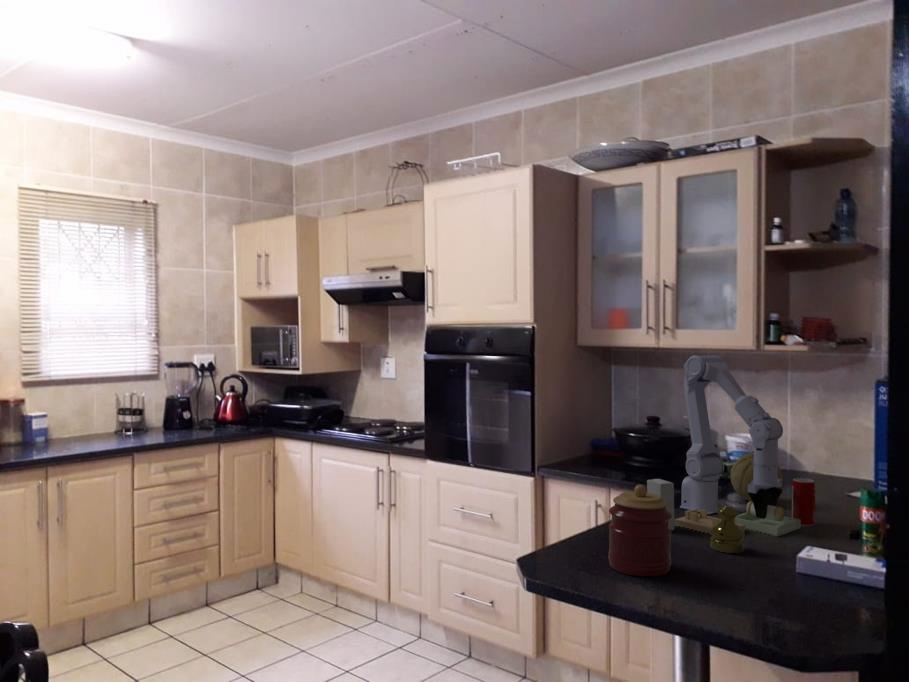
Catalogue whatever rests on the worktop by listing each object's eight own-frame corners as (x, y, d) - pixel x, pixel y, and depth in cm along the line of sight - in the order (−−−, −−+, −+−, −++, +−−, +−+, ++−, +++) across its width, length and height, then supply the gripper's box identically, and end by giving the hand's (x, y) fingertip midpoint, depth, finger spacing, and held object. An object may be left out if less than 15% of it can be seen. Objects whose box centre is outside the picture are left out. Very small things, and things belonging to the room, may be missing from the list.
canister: (661, 582, 139) (662, 494, 139) (599, 570, 146) (600, 486, 146) (677, 564, 150) (679, 483, 150) (619, 553, 157) (620, 476, 157)
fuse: (746, 515, 183) (746, 502, 183) (752, 513, 185) (752, 500, 185) (777, 522, 176) (778, 508, 176) (784, 520, 179) (784, 506, 179)
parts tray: (728, 525, 182) (728, 516, 182) (752, 517, 190) (752, 509, 190) (777, 536, 172) (777, 527, 172) (800, 528, 180) (800, 519, 180)
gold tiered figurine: (728, 556, 156) (729, 511, 156) (703, 546, 163) (703, 504, 163) (751, 551, 160) (752, 508, 159) (725, 543, 166) (726, 501, 166)
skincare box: (675, 530, 176) (675, 482, 176) (660, 531, 175) (661, 484, 175) (660, 524, 182) (660, 478, 182) (645, 525, 181) (646, 479, 180)
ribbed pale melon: (757, 494, 218) (758, 447, 217) (794, 505, 204) (795, 455, 203) (719, 497, 213) (719, 449, 213) (753, 509, 199) (754, 457, 199)
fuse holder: (674, 525, 181) (674, 511, 181) (695, 519, 187) (695, 505, 187) (724, 537, 170) (725, 523, 170) (745, 531, 176) (745, 516, 176)
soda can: (817, 527, 181) (818, 481, 180) (794, 526, 182) (795, 480, 182) (811, 521, 186) (811, 477, 186) (789, 520, 187) (789, 476, 187)
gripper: (767, 470, 173) (766, 524, 173) (793, 464, 182) (793, 515, 182) (740, 466, 178) (739, 518, 178) (767, 460, 188) (766, 510, 188)
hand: (764, 516), depth 181 cm, fingers closed on fuse, 3 cm apart
